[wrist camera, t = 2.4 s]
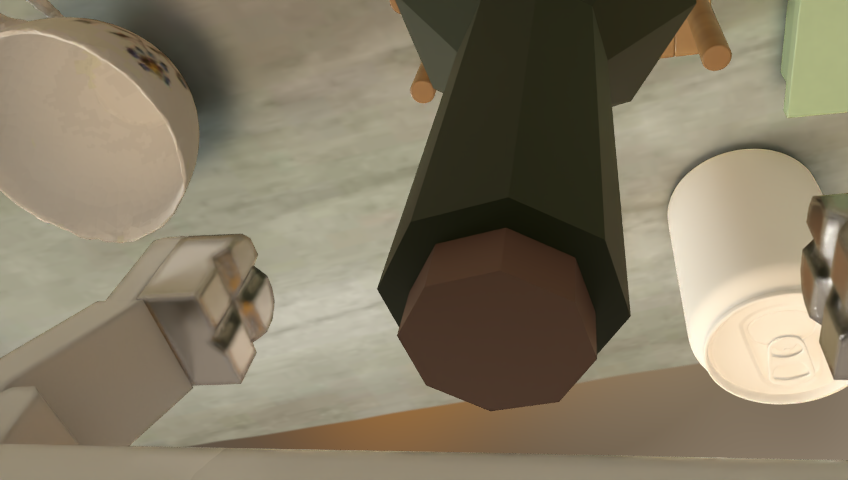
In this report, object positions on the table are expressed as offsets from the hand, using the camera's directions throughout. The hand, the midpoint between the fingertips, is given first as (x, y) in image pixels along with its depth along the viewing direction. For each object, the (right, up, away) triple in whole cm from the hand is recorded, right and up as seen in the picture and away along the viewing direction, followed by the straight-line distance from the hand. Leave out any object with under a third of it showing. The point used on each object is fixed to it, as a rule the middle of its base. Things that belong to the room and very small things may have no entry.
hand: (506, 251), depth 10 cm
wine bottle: (+5, +17, +22) cm, 28 cm away
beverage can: (+17, +2, +30) cm, 35 cm away
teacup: (-19, +11, +32) cm, 39 cm away
